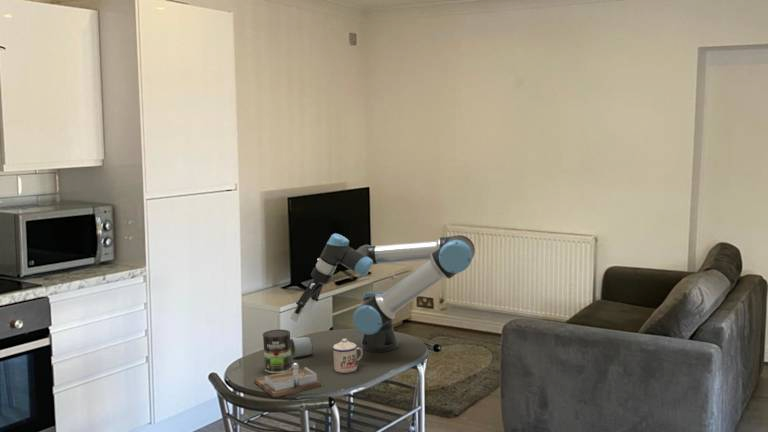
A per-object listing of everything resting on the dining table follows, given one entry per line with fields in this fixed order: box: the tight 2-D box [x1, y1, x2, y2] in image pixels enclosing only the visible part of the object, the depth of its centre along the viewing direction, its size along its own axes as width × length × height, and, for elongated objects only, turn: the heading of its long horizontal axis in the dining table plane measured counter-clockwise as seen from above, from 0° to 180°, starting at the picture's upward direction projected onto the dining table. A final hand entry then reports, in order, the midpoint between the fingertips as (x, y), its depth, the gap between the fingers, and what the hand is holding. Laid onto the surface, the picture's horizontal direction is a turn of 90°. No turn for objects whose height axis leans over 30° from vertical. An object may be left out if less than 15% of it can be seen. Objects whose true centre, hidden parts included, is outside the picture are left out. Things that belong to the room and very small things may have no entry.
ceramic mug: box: [290, 336, 314, 359], centre depth 308 cm, size 11×8×8 cm
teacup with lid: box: [332, 338, 364, 374], centre depth 289 cm, size 12×9×12 cm
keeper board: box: [254, 368, 322, 398], centre depth 275 cm, size 18×18×2 cm
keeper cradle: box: [264, 362, 318, 392], centre depth 271 cm, size 10×16×9 cm, turn 120°
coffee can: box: [262, 329, 293, 374], centre depth 291 cm, size 10×10×14 cm
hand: (299, 316), depth 304 cm, fingers open, 13 cm apart
